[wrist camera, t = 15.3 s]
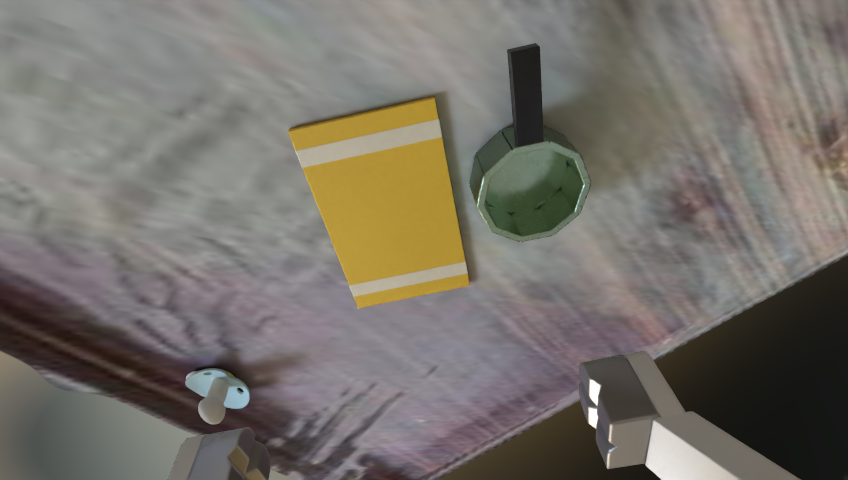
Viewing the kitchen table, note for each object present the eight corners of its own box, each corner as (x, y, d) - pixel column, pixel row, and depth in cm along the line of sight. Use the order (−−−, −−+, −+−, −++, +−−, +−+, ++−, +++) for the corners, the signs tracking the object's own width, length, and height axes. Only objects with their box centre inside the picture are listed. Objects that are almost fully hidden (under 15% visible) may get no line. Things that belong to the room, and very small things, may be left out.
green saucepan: (448, 50, 34) (456, 65, 30) (572, 22, 33) (595, 34, 30) (475, 223, 43) (483, 250, 39) (572, 203, 42) (590, 228, 39)
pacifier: (229, 402, 56) (260, 381, 53) (213, 451, 50) (246, 430, 48) (175, 376, 52) (206, 352, 50) (152, 425, 47) (185, 402, 45)
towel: (288, 129, 36) (287, 131, 36) (434, 96, 36) (435, 98, 35) (358, 305, 48) (358, 308, 47) (469, 282, 47) (470, 285, 47)
